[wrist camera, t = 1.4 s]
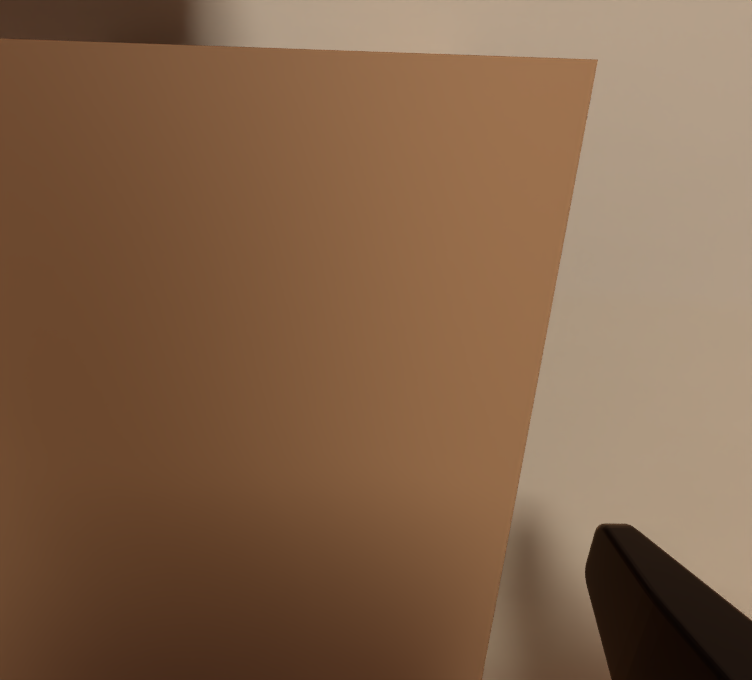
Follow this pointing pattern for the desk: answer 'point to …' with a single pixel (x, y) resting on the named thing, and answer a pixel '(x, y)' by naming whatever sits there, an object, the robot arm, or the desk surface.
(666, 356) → the desk surface
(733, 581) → the desk surface
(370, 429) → the brown rectangular block
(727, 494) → the desk surface
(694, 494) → the desk surface
